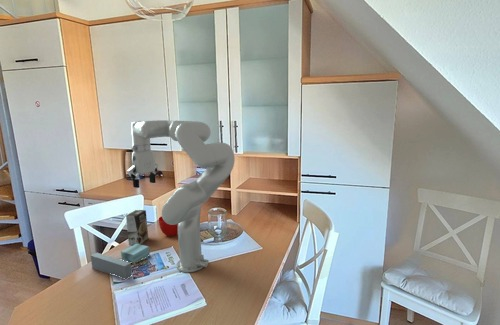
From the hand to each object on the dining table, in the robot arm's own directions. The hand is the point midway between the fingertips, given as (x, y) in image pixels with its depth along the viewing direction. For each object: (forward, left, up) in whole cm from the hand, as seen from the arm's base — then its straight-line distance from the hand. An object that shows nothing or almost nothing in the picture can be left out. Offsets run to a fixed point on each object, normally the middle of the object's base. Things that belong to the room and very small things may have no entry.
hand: (144, 185), depth 134 cm
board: (+3, +20, -34) cm, 39 cm away
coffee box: (+17, -7, -34) cm, 39 cm away
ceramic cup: (+5, -21, -34) cm, 41 cm away
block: (+3, +7, -34) cm, 35 cm away
